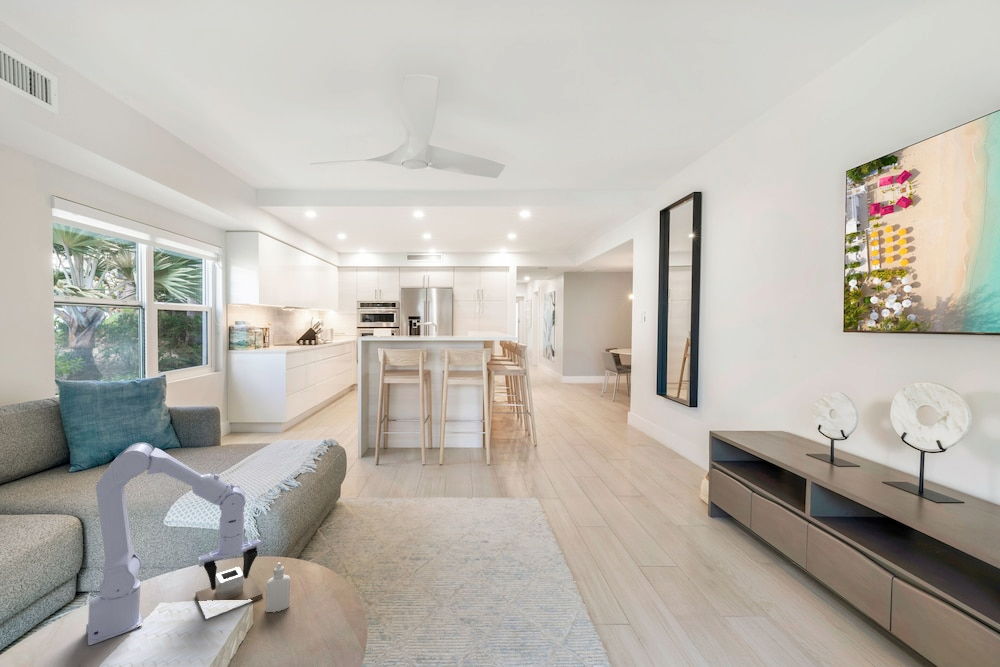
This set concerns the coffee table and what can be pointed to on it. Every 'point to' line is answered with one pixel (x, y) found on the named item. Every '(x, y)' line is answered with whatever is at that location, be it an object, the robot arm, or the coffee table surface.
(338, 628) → the coffee table surface
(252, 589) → the brown peg base
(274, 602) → the eye dropper bottle
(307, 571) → the coffee table surface
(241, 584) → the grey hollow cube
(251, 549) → the robot arm
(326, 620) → the coffee table surface
